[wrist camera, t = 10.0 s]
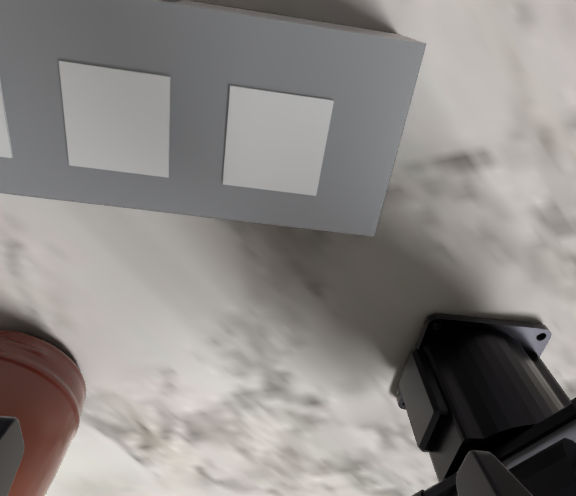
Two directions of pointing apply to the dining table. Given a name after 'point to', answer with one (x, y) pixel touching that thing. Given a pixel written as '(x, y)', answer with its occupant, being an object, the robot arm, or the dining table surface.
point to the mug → (39, 406)
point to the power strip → (202, 110)
